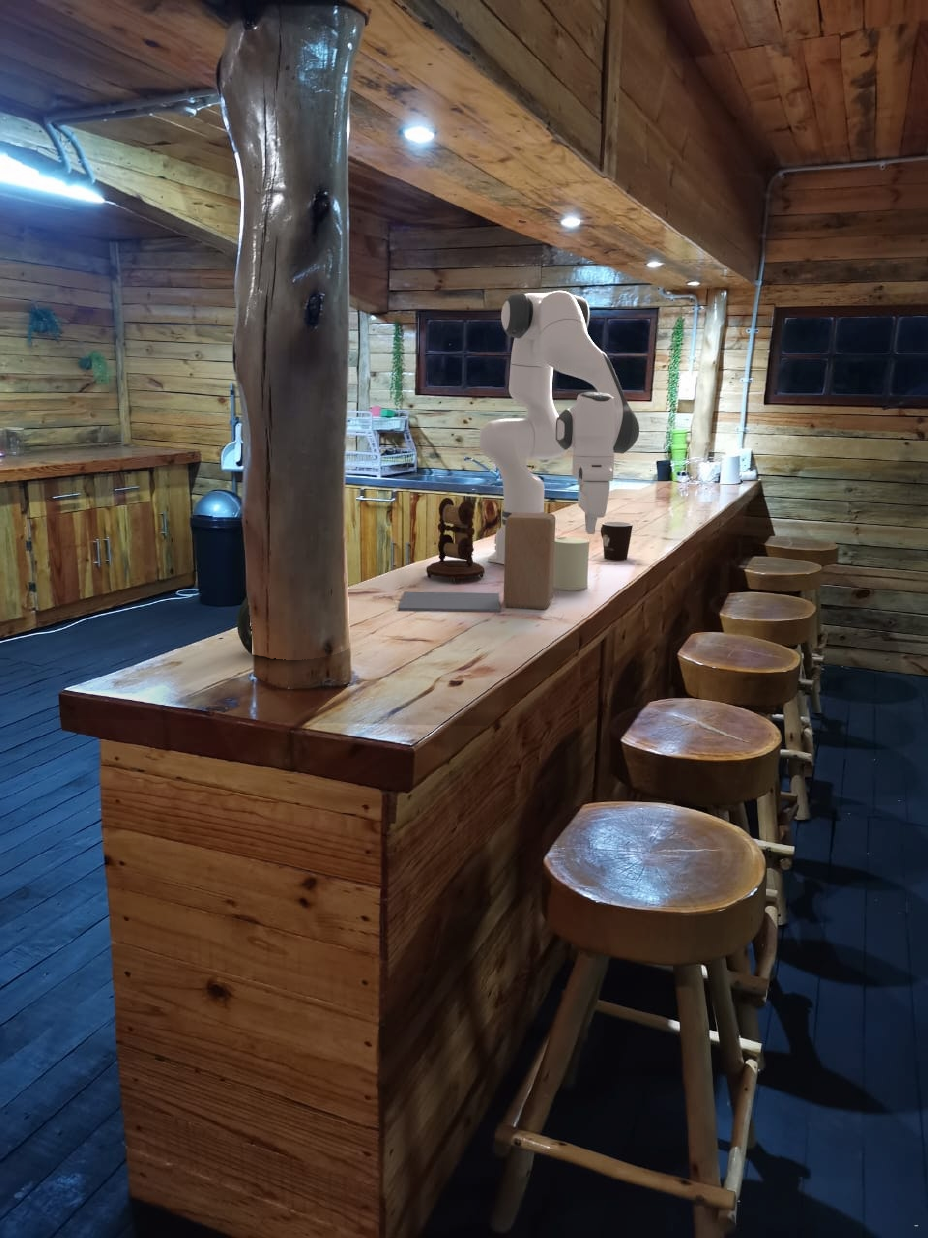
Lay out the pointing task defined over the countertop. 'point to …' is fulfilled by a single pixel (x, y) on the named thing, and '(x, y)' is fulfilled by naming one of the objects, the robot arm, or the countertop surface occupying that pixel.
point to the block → (529, 560)
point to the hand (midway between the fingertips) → (590, 533)
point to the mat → (449, 601)
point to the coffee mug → (616, 540)
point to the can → (570, 563)
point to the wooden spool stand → (456, 543)
